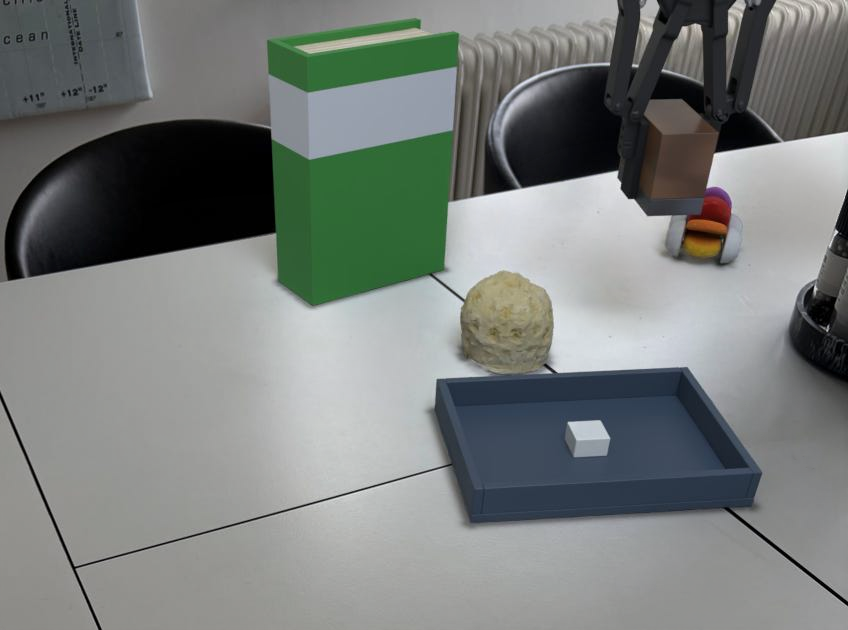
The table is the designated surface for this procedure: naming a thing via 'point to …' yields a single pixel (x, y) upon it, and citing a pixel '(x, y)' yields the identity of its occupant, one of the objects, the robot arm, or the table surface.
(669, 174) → the eraser
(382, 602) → the table surface
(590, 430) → the white short square block
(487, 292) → the decorative item
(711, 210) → the rainbow disc roller
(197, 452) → the table surface
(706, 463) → the tray
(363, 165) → the hardback book
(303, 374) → the table surface
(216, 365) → the table surface
